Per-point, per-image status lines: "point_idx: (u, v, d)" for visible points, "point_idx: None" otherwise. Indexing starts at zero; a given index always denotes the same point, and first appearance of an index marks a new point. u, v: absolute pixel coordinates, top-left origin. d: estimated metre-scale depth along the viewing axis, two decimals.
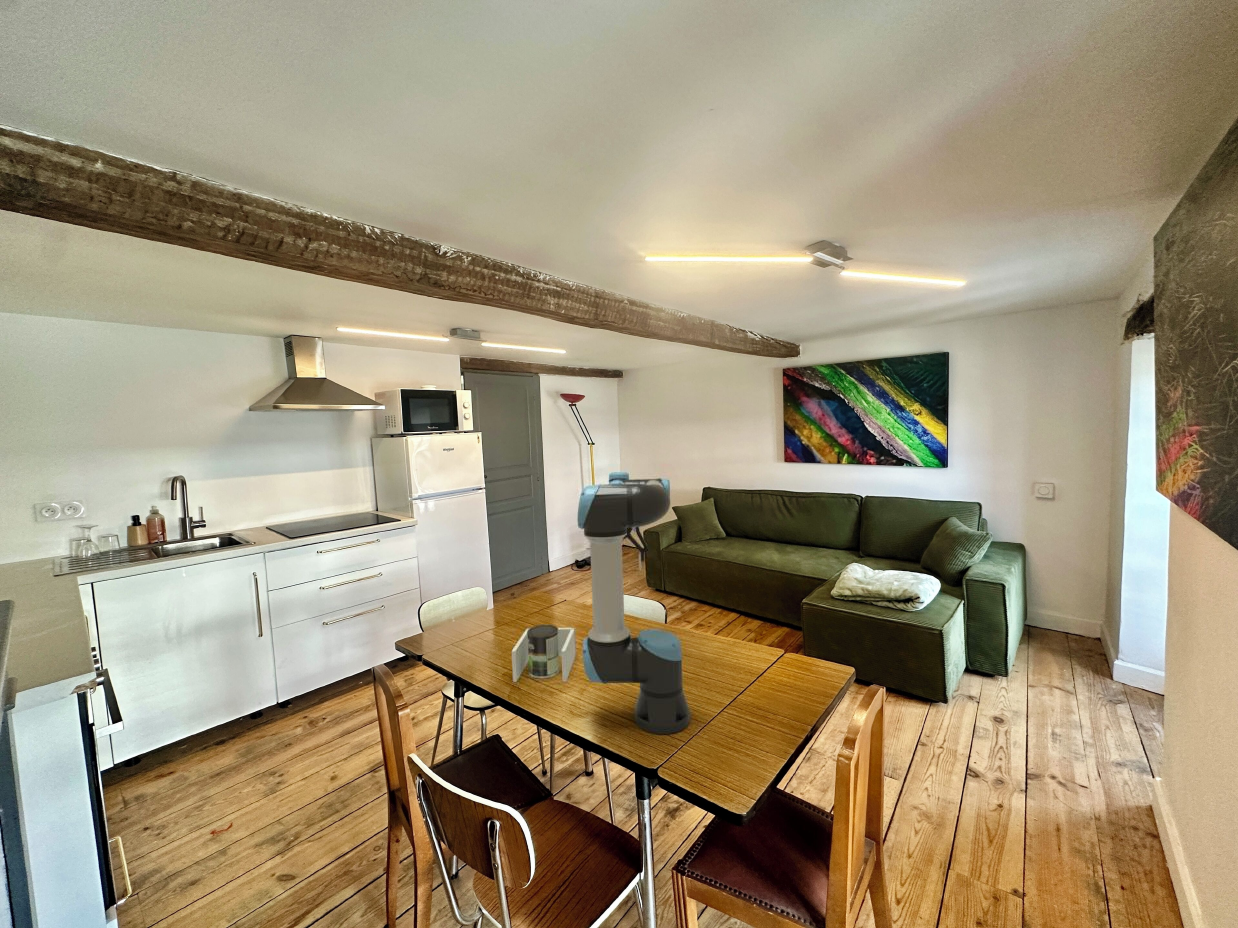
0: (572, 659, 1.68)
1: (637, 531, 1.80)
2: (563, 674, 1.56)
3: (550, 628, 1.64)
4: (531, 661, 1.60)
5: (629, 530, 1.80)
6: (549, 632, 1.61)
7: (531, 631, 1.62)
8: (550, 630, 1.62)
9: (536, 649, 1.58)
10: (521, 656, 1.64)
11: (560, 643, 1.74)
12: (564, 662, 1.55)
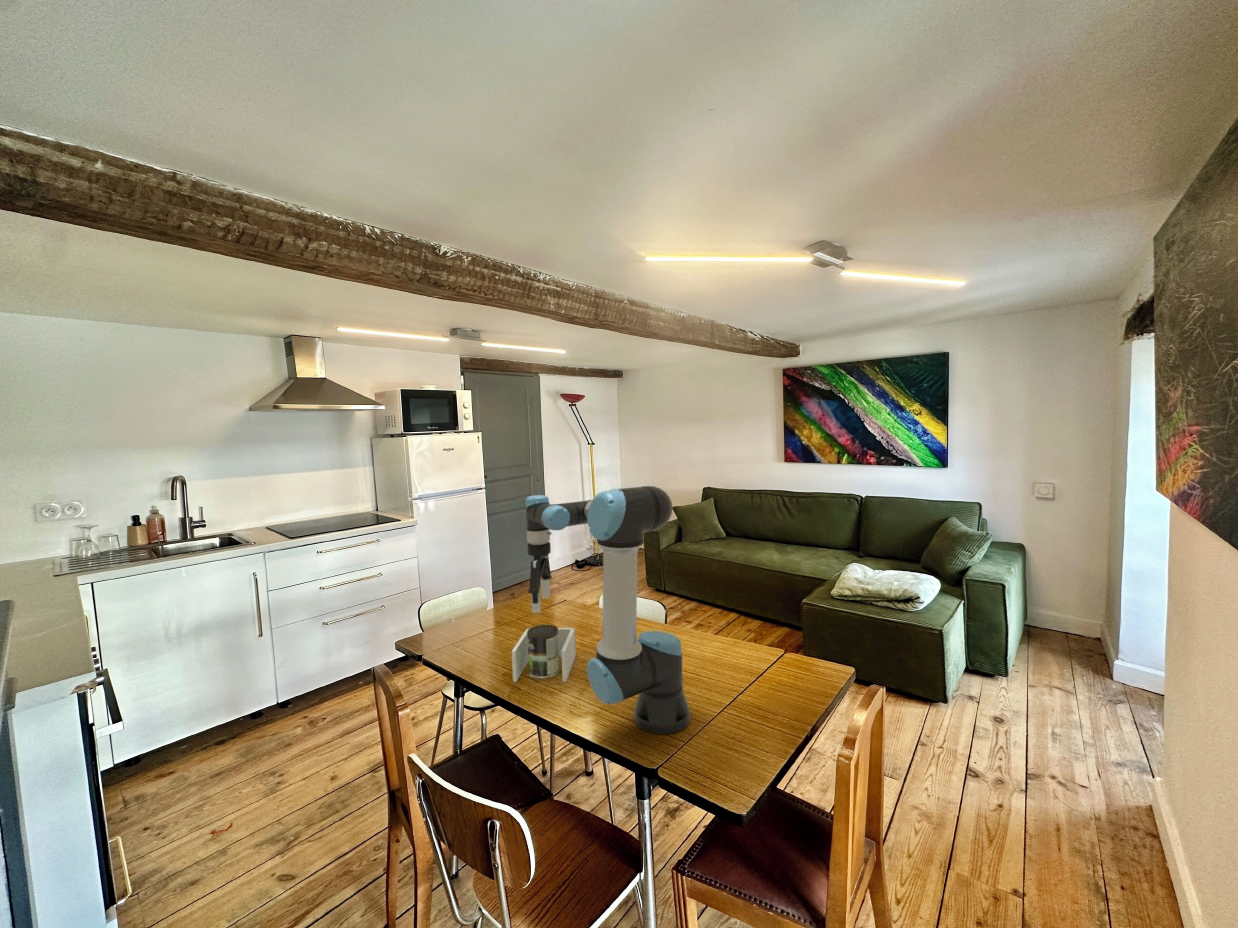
0: (572, 659, 1.68)
1: None
2: (563, 674, 1.56)
3: (550, 628, 1.64)
4: (531, 661, 1.60)
5: None
6: (549, 632, 1.61)
7: (531, 631, 1.62)
8: (550, 630, 1.62)
9: (536, 649, 1.58)
10: (521, 656, 1.64)
11: (560, 643, 1.74)
12: (564, 662, 1.55)
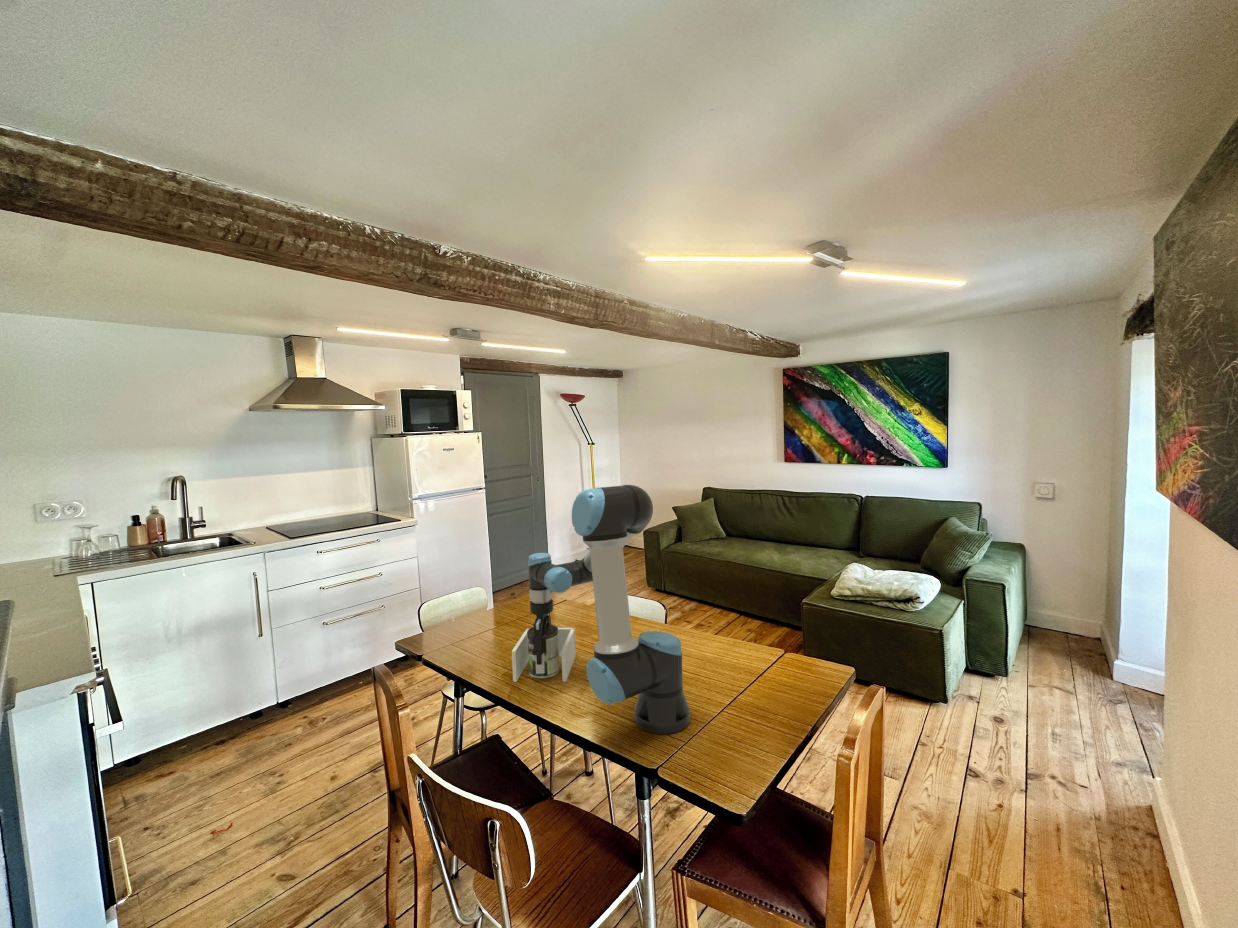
0: (572, 659, 1.68)
1: None
2: (563, 674, 1.56)
3: (550, 628, 1.64)
4: (531, 661, 1.60)
5: None
6: (549, 632, 1.61)
7: (531, 631, 1.62)
8: (550, 630, 1.62)
9: None
10: (521, 656, 1.64)
11: (560, 643, 1.74)
12: (564, 662, 1.55)
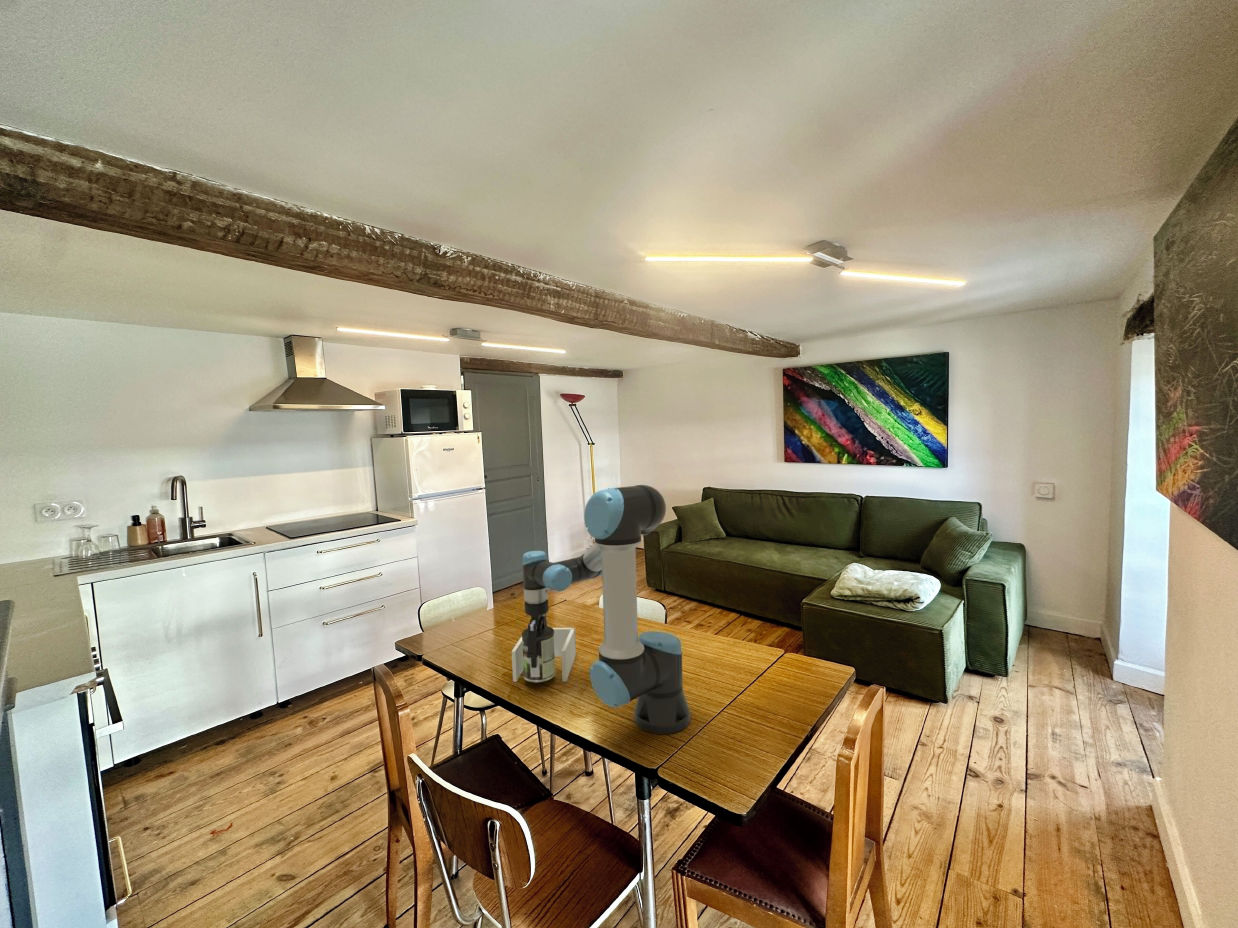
0: (572, 659, 1.68)
1: None
2: (563, 674, 1.56)
3: (545, 630, 1.57)
4: (525, 664, 1.53)
5: None
6: (544, 634, 1.54)
7: (526, 633, 1.55)
8: (545, 632, 1.55)
9: None
10: (521, 656, 1.64)
11: (560, 643, 1.74)
12: (564, 662, 1.55)
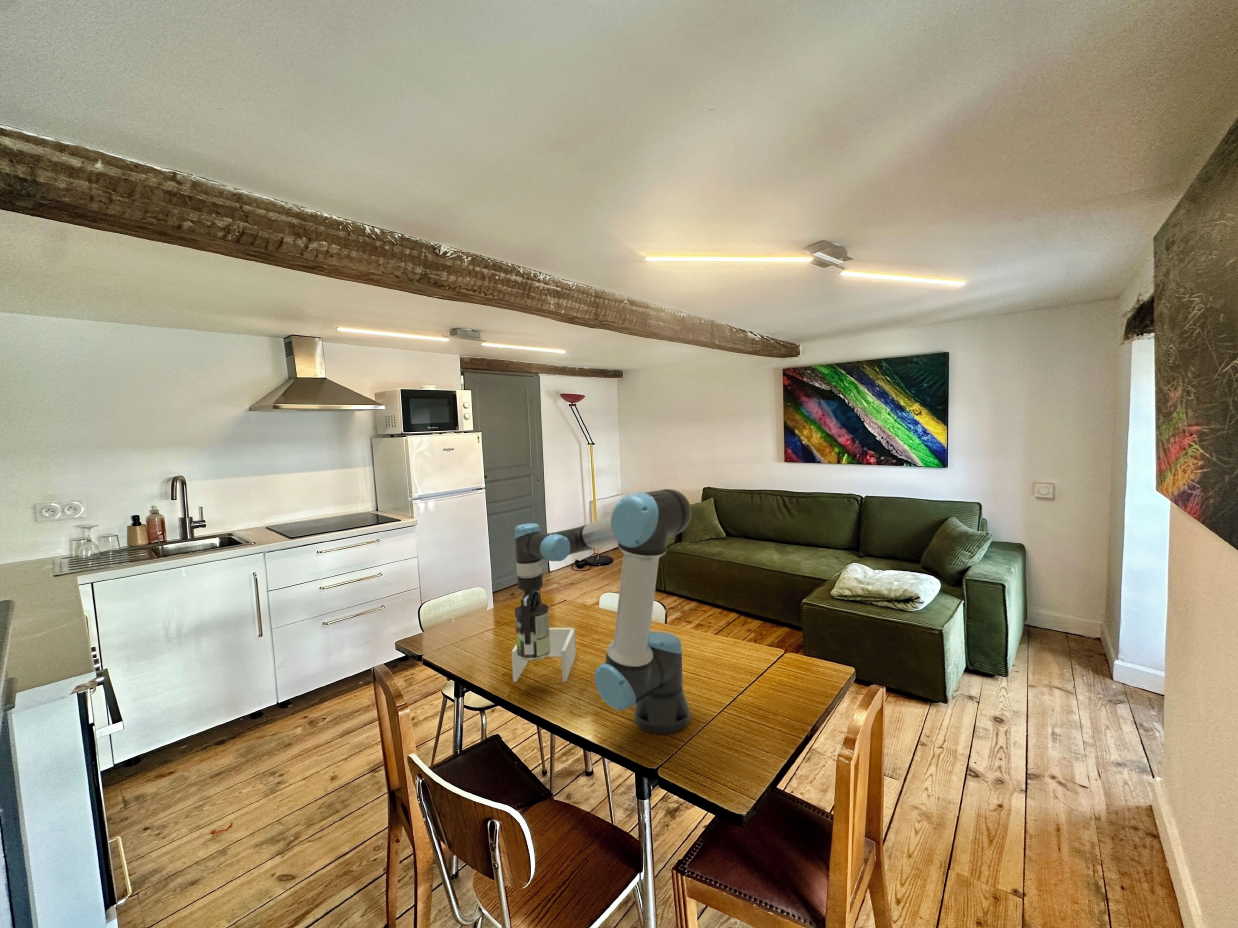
0: (572, 659, 1.68)
1: None
2: (563, 674, 1.56)
3: (539, 606, 1.50)
4: (519, 641, 1.46)
5: None
6: (538, 610, 1.47)
7: (519, 609, 1.49)
8: (539, 608, 1.49)
9: None
10: None
11: (560, 643, 1.74)
12: (564, 662, 1.55)
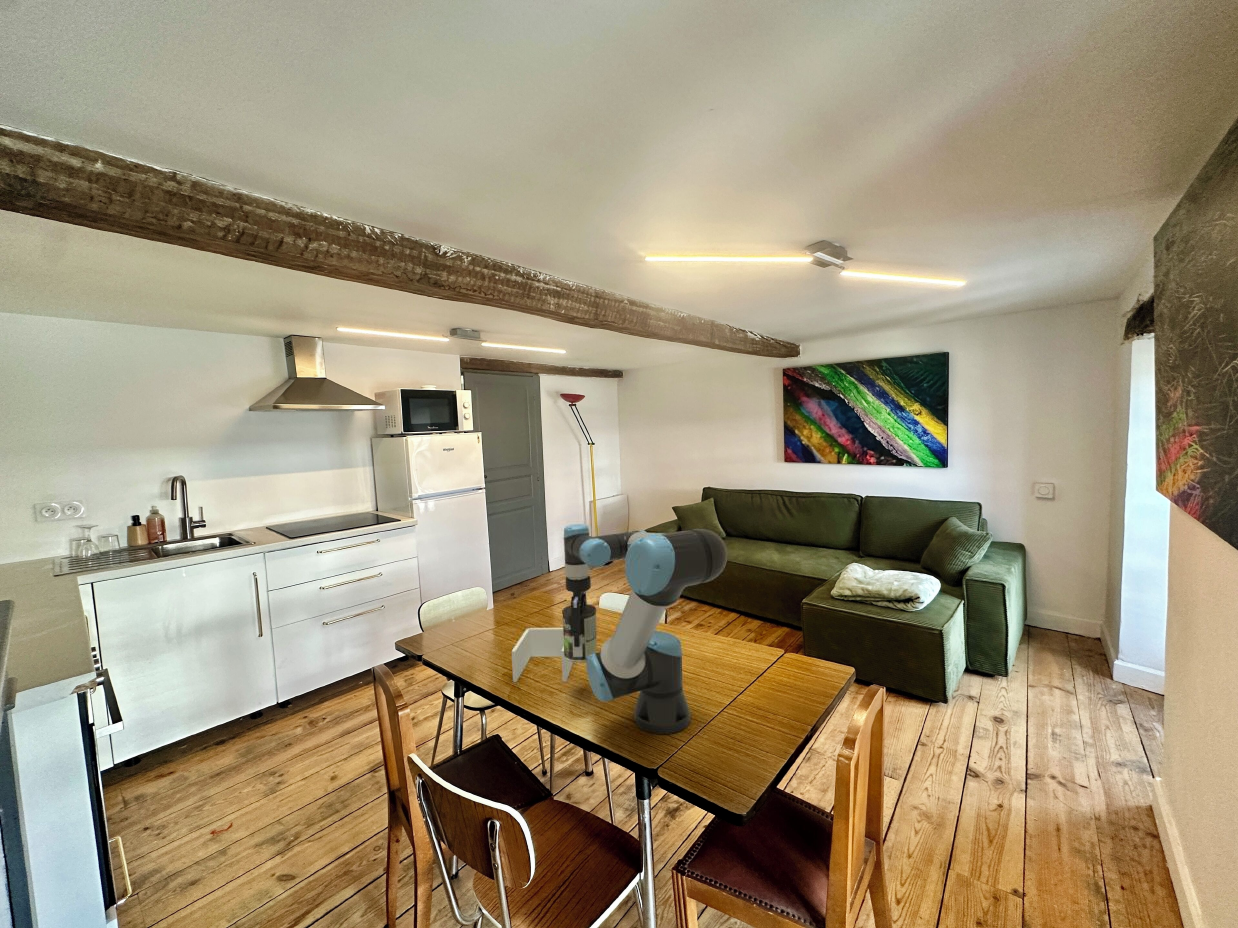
0: None
1: None
2: (563, 674, 1.56)
3: (586, 608, 1.49)
4: (567, 643, 1.44)
5: (573, 600, 1.44)
6: (586, 611, 1.45)
7: (566, 610, 1.47)
8: (587, 609, 1.47)
9: None
10: (521, 656, 1.64)
11: (560, 643, 1.74)
12: (564, 662, 1.55)
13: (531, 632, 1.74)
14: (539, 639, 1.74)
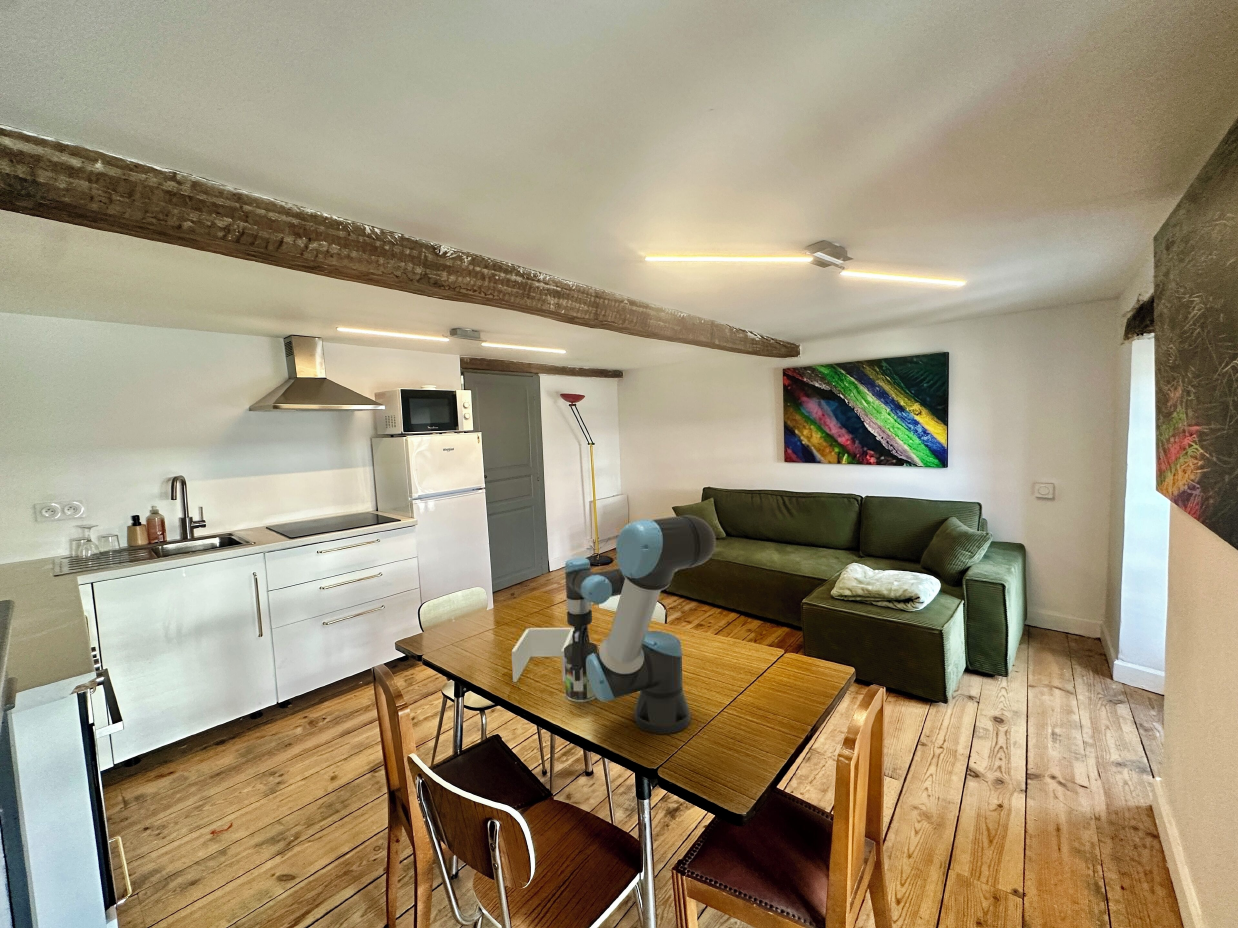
0: None
1: None
2: (563, 674, 1.56)
3: (588, 646, 1.49)
4: (569, 683, 1.44)
5: (574, 634, 1.44)
6: (588, 650, 1.46)
7: (568, 649, 1.47)
8: (588, 648, 1.47)
9: None
10: (521, 656, 1.64)
11: (560, 643, 1.74)
12: (564, 662, 1.55)
13: (531, 632, 1.74)
14: (539, 639, 1.74)
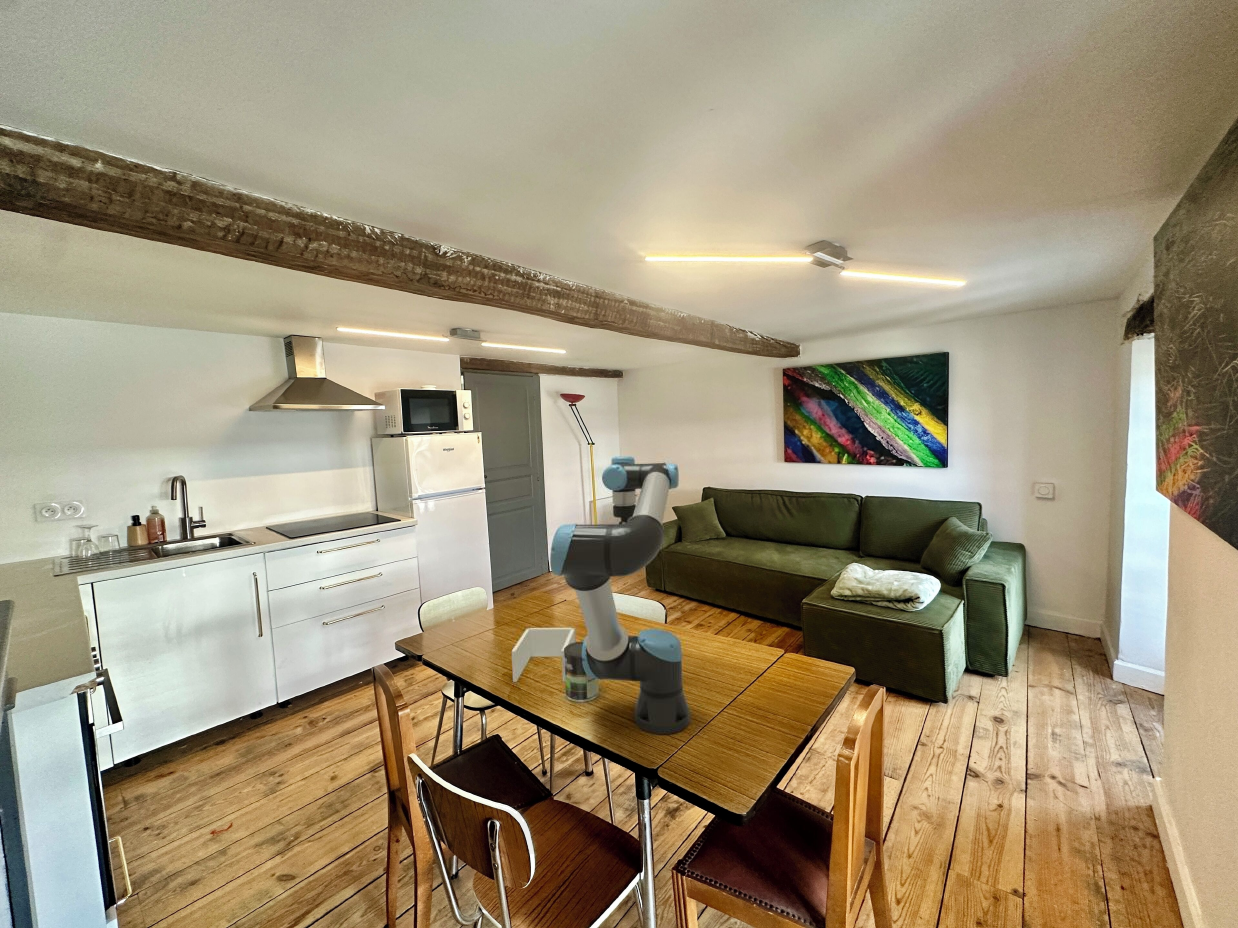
0: None
1: None
2: (563, 674, 1.56)
3: None
4: (569, 683, 1.44)
5: None
6: None
7: (568, 649, 1.47)
8: None
9: (575, 669, 1.43)
10: (521, 656, 1.64)
11: (560, 643, 1.74)
12: (564, 662, 1.55)
13: (531, 632, 1.74)
14: (539, 639, 1.74)
